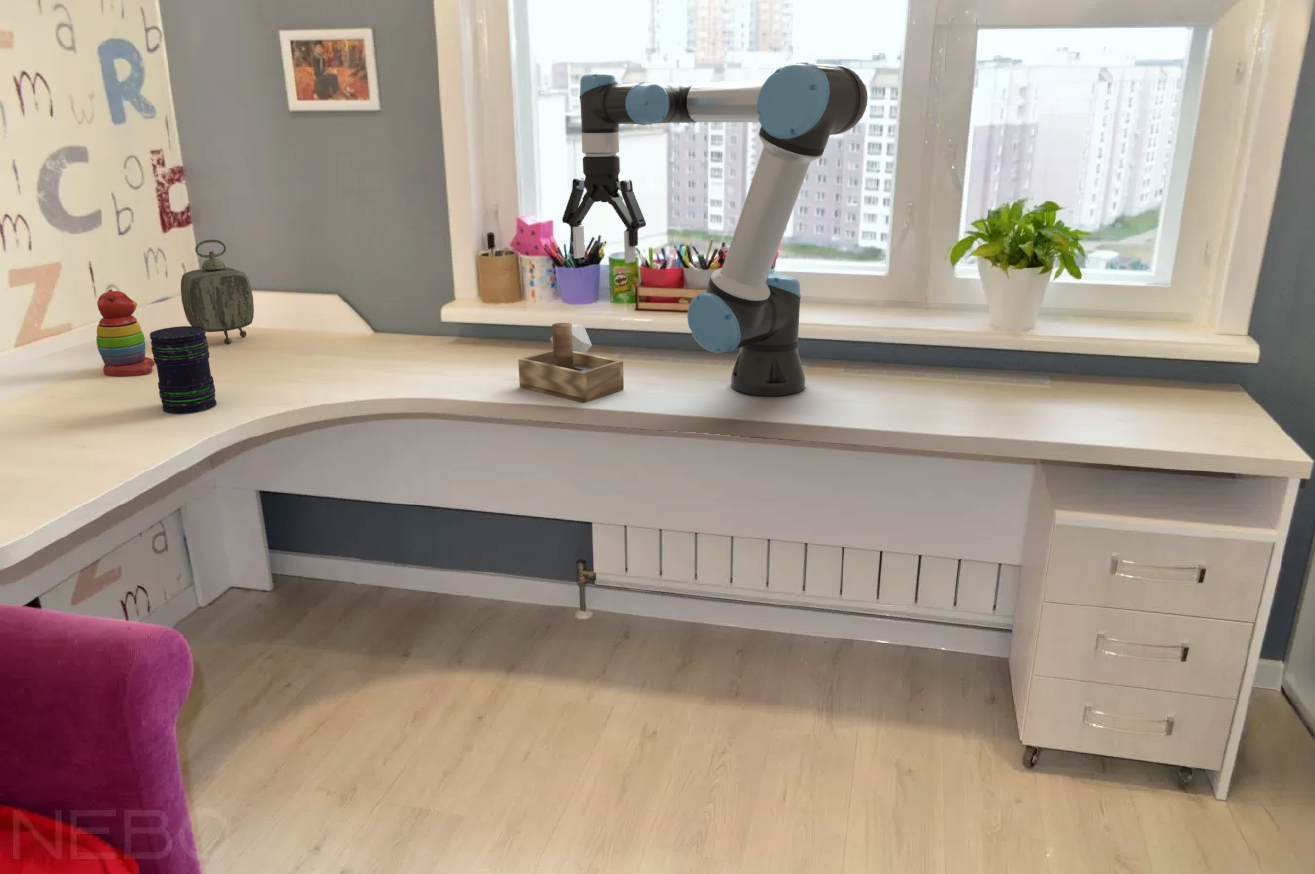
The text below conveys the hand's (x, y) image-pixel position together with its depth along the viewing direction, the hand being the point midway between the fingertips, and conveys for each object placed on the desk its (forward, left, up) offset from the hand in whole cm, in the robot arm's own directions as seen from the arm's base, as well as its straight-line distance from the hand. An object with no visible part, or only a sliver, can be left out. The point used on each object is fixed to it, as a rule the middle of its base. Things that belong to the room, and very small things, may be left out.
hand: (604, 260), depth 209 cm
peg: (-1, +14, -23) cm, 27 cm away
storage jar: (+47, +69, -25) cm, 87 cm away
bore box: (-3, +14, -24) cm, 28 cm away
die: (+14, -4, -25) cm, 29 cm away
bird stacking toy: (+84, +64, -25) cm, 109 cm away
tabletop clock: (+92, +37, -25) cm, 102 cm away
